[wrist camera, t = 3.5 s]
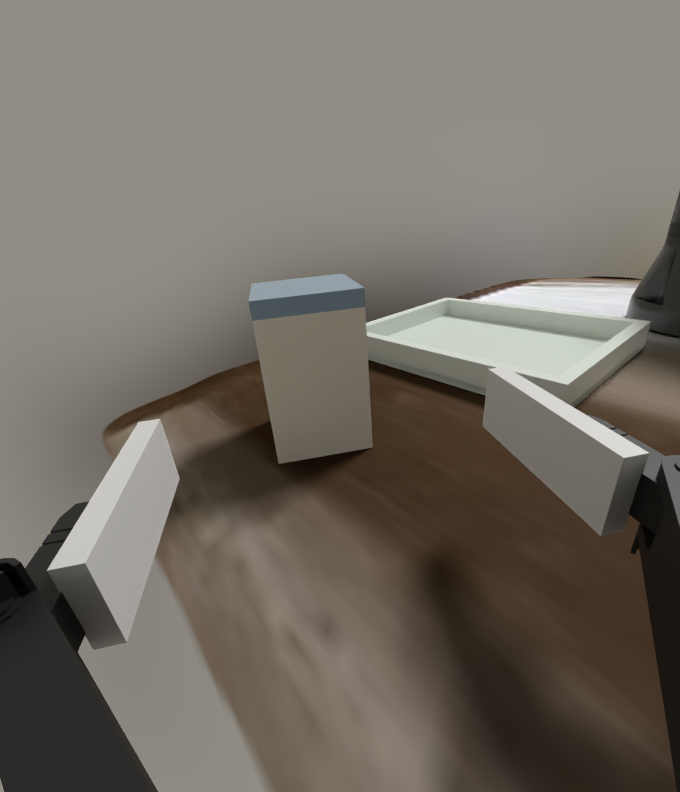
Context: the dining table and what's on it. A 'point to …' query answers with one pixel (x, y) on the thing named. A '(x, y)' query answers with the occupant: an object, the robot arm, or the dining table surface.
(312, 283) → the white boxy piece
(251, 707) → the dining table surface
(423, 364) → the tray
